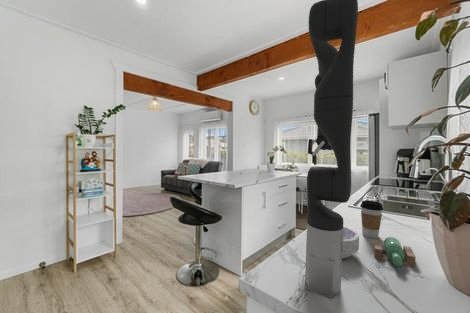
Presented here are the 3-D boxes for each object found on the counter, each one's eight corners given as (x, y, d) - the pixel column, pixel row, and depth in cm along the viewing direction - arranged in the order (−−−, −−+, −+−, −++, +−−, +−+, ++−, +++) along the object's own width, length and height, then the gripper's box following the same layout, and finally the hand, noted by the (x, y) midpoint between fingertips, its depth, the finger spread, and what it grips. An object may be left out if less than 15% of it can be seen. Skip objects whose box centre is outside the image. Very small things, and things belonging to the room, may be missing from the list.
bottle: (399, 252, 78) (406, 273, 65) (382, 247, 80) (386, 266, 67) (401, 240, 77) (409, 258, 64) (385, 235, 79) (389, 252, 67)
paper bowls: (304, 246, 82) (304, 226, 81) (334, 240, 87) (334, 221, 87) (335, 267, 68) (336, 243, 67) (368, 259, 73) (369, 236, 73)
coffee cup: (357, 235, 93) (358, 201, 92) (361, 229, 99) (363, 198, 98) (380, 241, 87) (381, 205, 86) (383, 235, 93) (385, 201, 92)
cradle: (414, 266, 68) (415, 257, 68) (374, 257, 74) (374, 248, 74) (409, 256, 75) (410, 247, 75) (373, 248, 81) (373, 239, 81)
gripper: (306, 124, 83) (305, 165, 84) (347, 122, 75) (346, 167, 76) (311, 125, 89) (309, 163, 90) (349, 124, 82) (347, 165, 83)
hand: (326, 165), depth 83 cm, fingers open, 8 cm apart
